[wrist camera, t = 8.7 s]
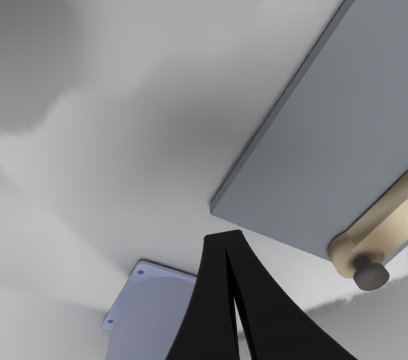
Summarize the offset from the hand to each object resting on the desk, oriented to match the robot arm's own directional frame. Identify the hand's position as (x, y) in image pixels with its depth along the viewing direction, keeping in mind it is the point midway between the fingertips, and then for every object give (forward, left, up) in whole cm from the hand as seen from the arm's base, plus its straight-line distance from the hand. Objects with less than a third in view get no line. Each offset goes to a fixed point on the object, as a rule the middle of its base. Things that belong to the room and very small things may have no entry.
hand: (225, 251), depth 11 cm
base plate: (+4, -10, -9) cm, 15 cm away
